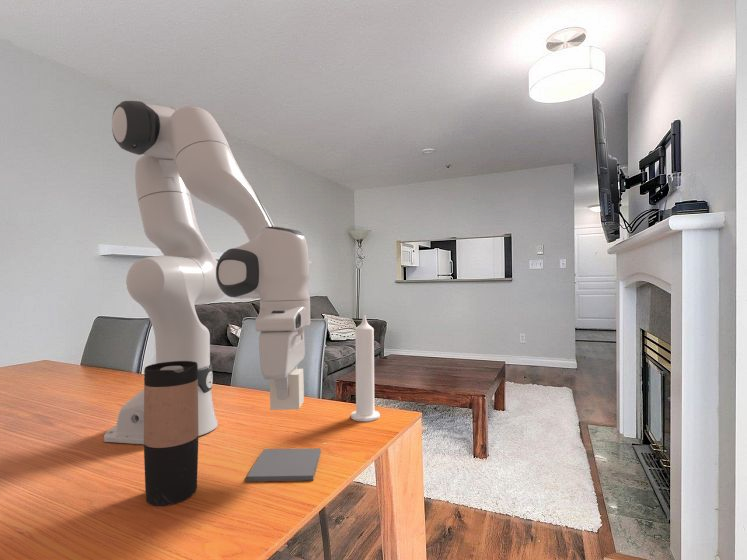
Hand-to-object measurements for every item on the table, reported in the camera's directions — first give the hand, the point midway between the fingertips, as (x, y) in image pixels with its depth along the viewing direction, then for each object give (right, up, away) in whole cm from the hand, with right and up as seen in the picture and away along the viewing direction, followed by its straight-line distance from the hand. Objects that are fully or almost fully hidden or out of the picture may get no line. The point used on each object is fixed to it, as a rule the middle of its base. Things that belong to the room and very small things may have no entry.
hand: (287, 393), depth 71 cm
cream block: (0, -2, 0) cm, 2 cm away
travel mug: (-16, -13, -9) cm, 23 cm away
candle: (+13, -13, +26) cm, 32 cm away
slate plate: (0, -13, 0) cm, 13 cm away
